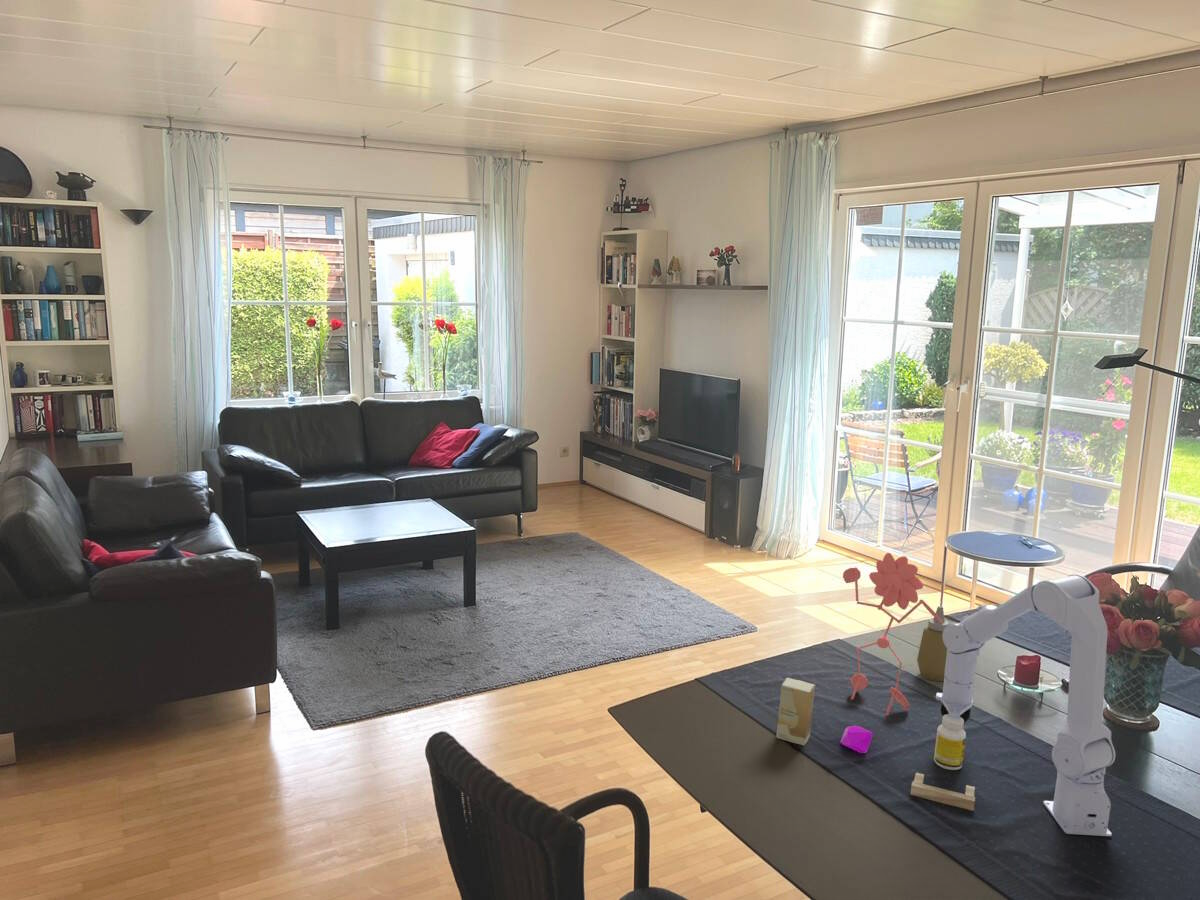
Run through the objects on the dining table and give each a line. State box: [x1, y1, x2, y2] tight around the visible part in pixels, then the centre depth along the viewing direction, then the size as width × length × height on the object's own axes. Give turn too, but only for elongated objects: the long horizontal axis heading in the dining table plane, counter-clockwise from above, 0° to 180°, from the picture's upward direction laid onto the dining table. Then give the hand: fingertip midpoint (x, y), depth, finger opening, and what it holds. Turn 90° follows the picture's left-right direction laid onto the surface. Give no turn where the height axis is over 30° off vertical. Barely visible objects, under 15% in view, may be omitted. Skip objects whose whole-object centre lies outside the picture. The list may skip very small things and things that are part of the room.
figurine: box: [842, 552, 943, 727], centre depth 200 cm, size 15×26×35 cm, turn 40°
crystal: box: [840, 725, 874, 754], centre depth 181 cm, size 5×5×5 cm
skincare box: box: [776, 677, 816, 746], centre depth 184 cm, size 6×4×12 cm
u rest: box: [910, 772, 976, 812], centre depth 165 cm, size 5×11×2 cm, turn 64°
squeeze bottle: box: [916, 605, 950, 682], centre depth 214 cm, size 8×8×18 cm
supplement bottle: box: [933, 714, 967, 771], centre depth 176 cm, size 5×5×10 cm
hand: (952, 739), depth 183 cm, fingers closed
